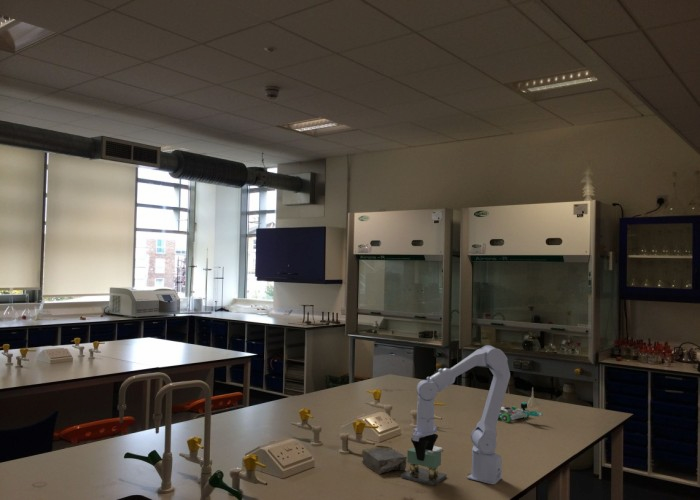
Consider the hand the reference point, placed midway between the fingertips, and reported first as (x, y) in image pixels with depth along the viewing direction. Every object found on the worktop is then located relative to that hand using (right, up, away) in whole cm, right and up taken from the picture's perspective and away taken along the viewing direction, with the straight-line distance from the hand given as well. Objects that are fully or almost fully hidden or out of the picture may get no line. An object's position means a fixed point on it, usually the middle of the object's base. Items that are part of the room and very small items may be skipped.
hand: (424, 458), depth 191 cm
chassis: (0, -6, 0) cm, 6 cm away
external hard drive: (+4, -8, +28) cm, 29 cm away
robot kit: (+55, -12, +81) cm, 99 cm away
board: (0, -2, 0) cm, 2 cm away
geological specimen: (-13, -7, +9) cm, 18 cm away
